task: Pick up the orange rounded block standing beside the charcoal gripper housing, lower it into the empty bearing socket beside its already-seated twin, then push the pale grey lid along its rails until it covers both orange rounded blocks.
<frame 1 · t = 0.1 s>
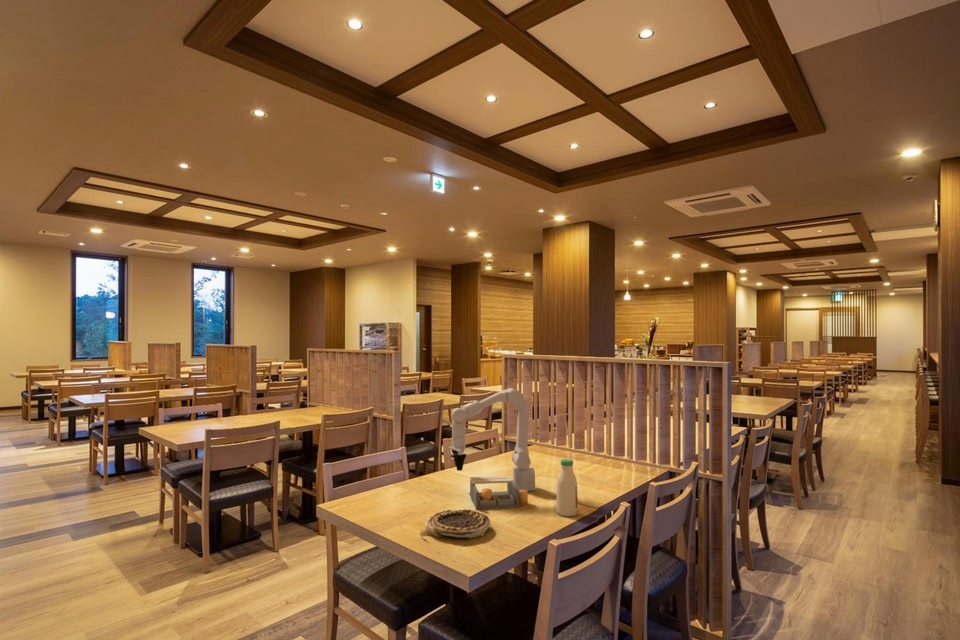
hand: (458, 468, 216), 10 cm above the table, tool pointing down, fingers open, 7 cm apart
housing: (493, 501, 203), on the table
milk bottle: (567, 514, 189), on the table
orange rounded block: (522, 503, 200), on the table
pie: (459, 533, 172), on the table
lid: (491, 479, 209), point 7 cm above the table, slide at 0.0 cm
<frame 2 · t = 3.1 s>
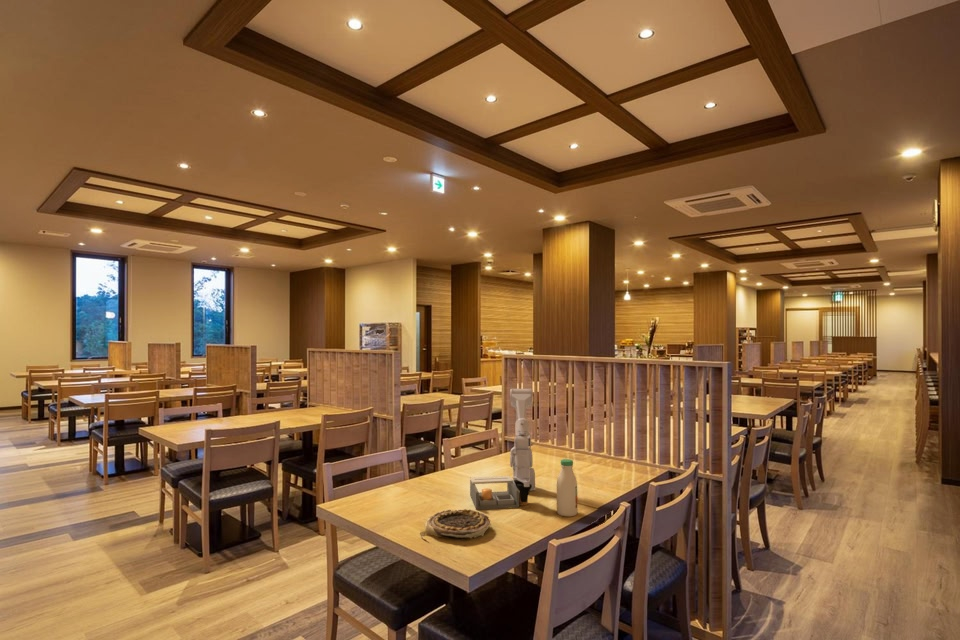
hand: (522, 500, 200), 1 cm above the table, tool pointing down, fingers closed on orange rounded block, 4 cm apart
orange rounded block: (522, 503, 200), on the table, touching gripper
everything else where it was.
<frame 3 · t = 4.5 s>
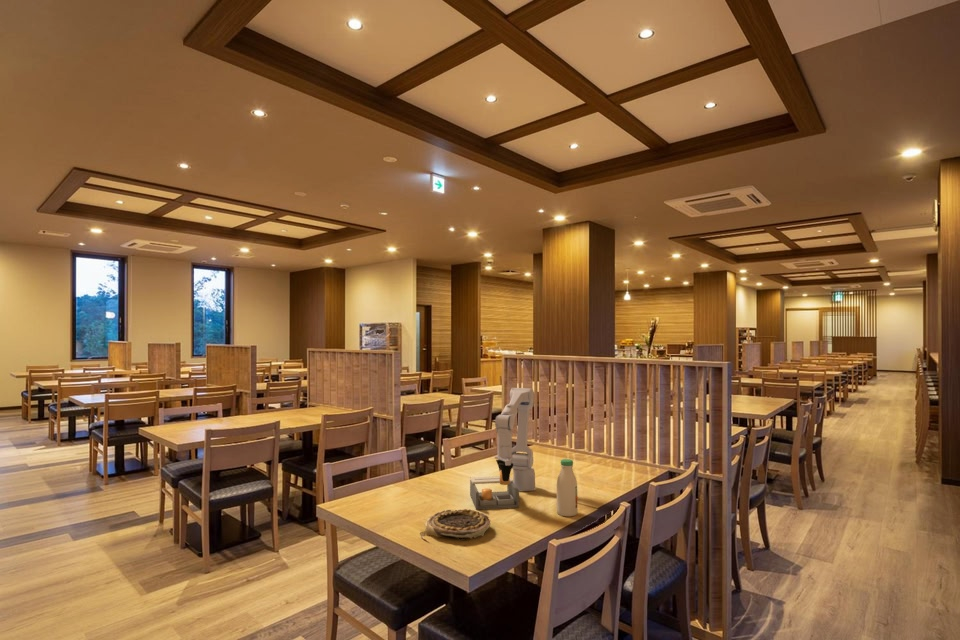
hand: (504, 479, 200), 10 cm above the table, tool pointing down, fingers closed on orange rounded block, 4 cm apart
orange rounded block: (504, 483, 200), point 8 cm above the table, touching gripper
everything else where it was.
when the fingers open (3 cm above the table, at t = 6.1 s): orange rounded block stays where it is, resting on housing.
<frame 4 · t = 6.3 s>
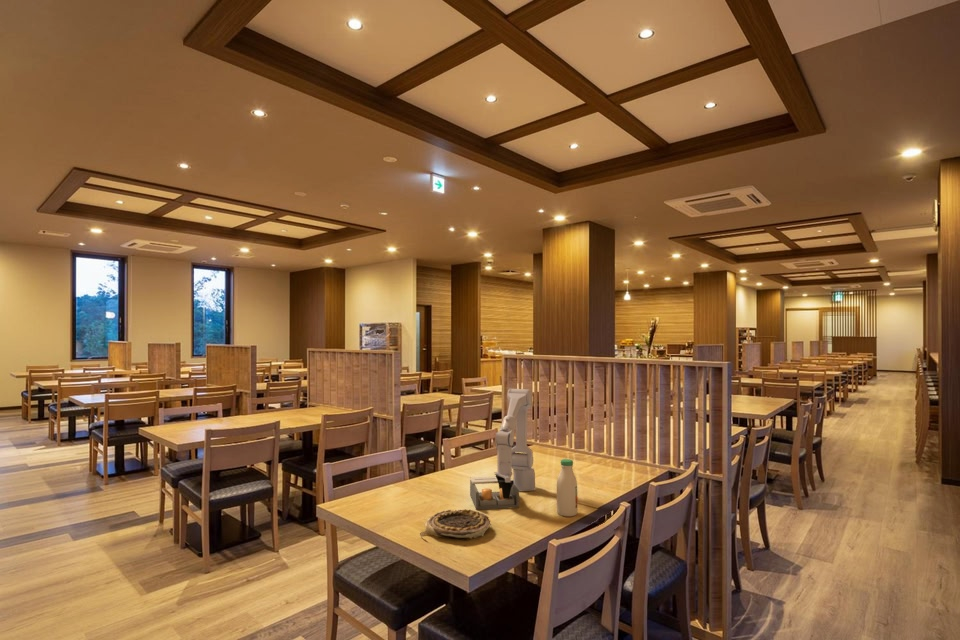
hand: (504, 495, 199), 3 cm above the table, tool pointing down, fingers open, 6 cm apart
orange rounded block: (504, 501, 199), point 1 cm above the table, touching housing
everything else where it was.
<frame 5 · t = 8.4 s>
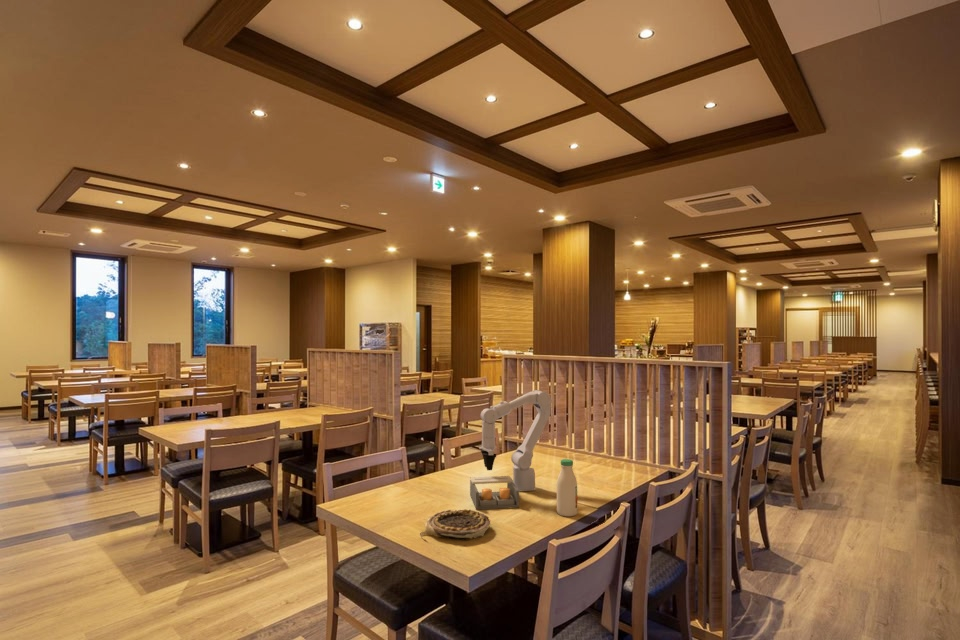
hand: (488, 468, 216), 10 cm above the table, tool pointing down, fingers open, 5 cm apart
nothing on the table moved.
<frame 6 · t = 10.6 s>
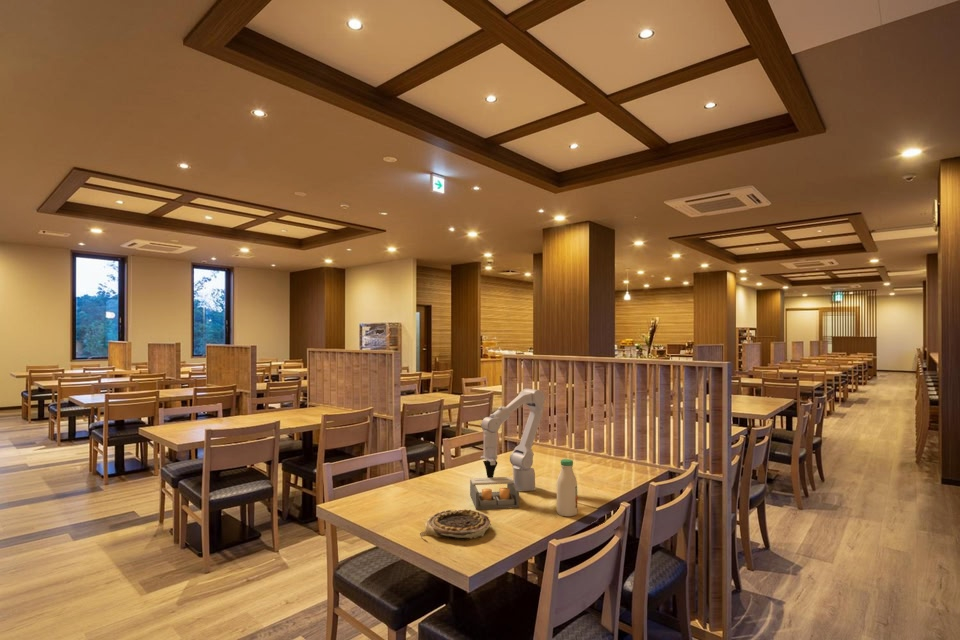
hand: (490, 478, 212), 7 cm above the table, tool pointing down, fingers closed
lid: (492, 480, 207), point 7 cm above the table, slide at 1.5 cm, touching gripper
everything else where it was.
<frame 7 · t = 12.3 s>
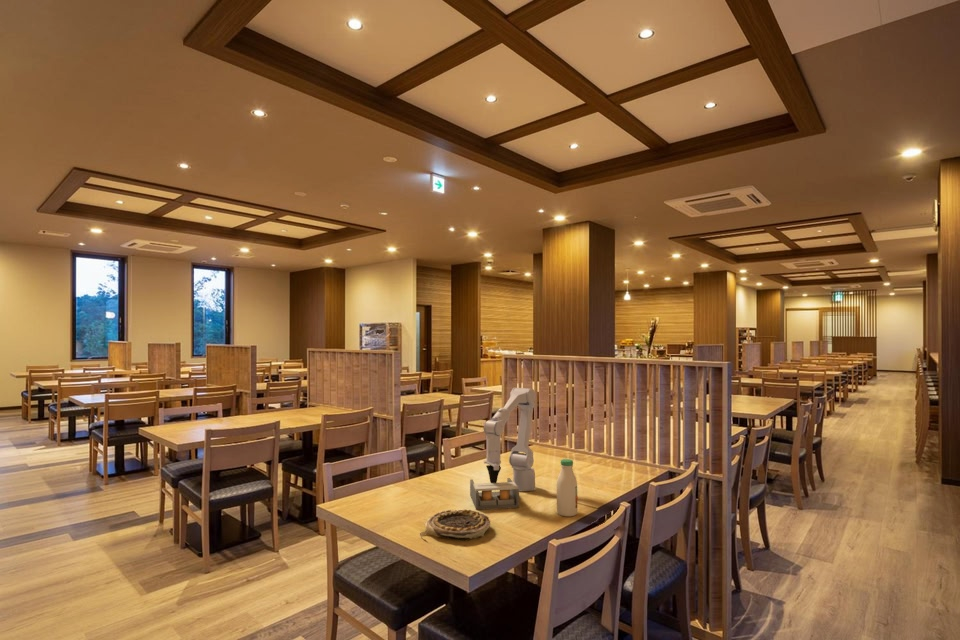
hand: (493, 483, 204), 7 cm above the table, tool pointing down, fingers closed
lid: (495, 486, 200), point 7 cm above the table, slide at 9.3 cm, touching gripper
everything else where it was.
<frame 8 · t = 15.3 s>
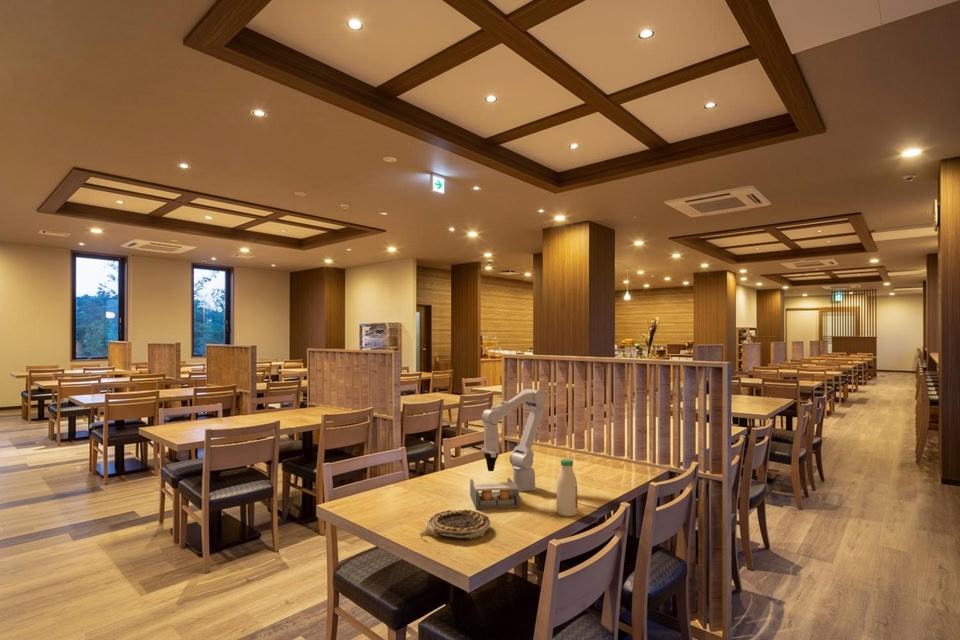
hand: (490, 470, 210), 10 cm above the table, tool pointing down, fingers closed
lid: (495, 486, 199), point 7 cm above the table, slide at 9.4 cm
everything else where it was.
at the end: orange rounded block 0.1 cm from the target spot on the housing, point 1.0 cm above the housing's base; orange rounded block tilted 0°; lid slide at 9.4 cm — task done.
